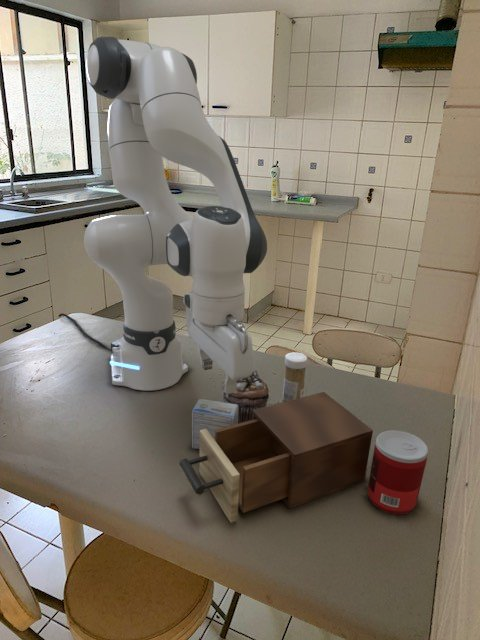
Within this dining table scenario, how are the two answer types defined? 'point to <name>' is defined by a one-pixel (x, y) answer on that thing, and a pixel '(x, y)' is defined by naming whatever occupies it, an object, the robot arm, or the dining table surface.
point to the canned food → (397, 471)
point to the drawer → (241, 467)
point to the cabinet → (318, 445)
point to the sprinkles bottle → (294, 376)
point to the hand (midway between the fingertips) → (217, 379)
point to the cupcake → (248, 396)
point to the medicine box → (211, 418)
